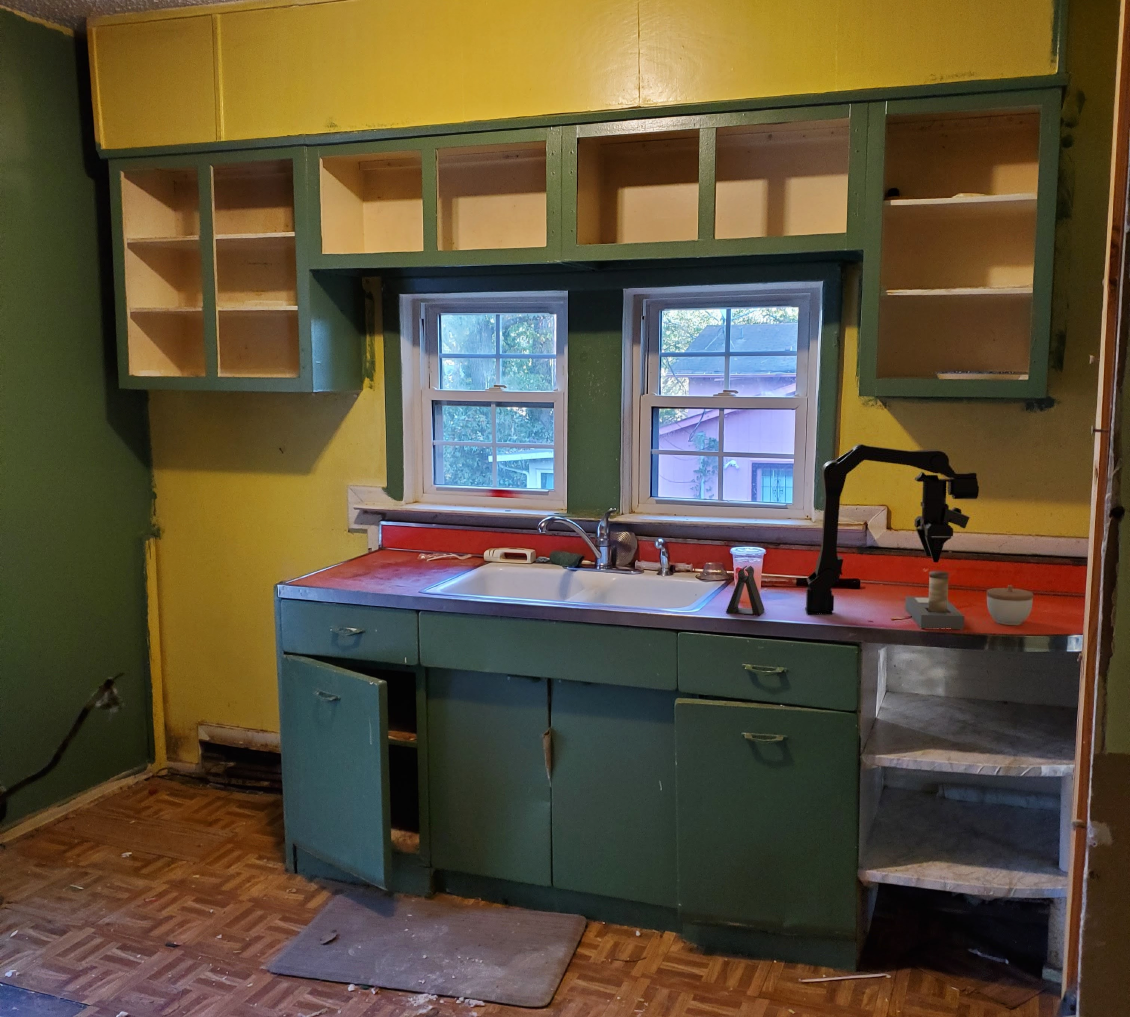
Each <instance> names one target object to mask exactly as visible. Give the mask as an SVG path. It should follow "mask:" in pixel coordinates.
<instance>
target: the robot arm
mask: <svg viewBox="0 0 1130 1017" xmlns="http://www.w3.org/2000/svg"><path fill="white" fill-rule="evenodd" d="M864 461H870V462H878V463H879V462H880V463H885V464H886V463H887V464H895V465H902V466H909V467H913V468H916V469H920V470H922V471H920V473H919V474H918V475H917V476H916V477H914V481H916V482H918V483H919V482H920V483H922V495H921V496H922V497H921V498H922V500H921V501H920V507H921V515H918V516H917V517H915V519H914V526H913V527H915V531H916V533H917V535H918V538H919V541H920V543H921V545H922V549H923V550H924V553H925V556H926V557H931V559H932V562H933V563H936V564H937V563H939V561H940V558H941V555H942V552H943V549H944V545H945V543H946V542H948V541H949V540H951V539H952V537H954V528H953V527H952V526H951V525H950V524H953V525H955V526H959V528H962V529H966V527H967V525H968V523H969V520H970V516H968V515H966V514H964V513H962V509H960V507H959V508H958V507H956V506H954V507H953V508H952V509H950V508H949V507H950V506H949V505H948V503H947V494H948V496H951V498H952V499H953V500H977V499H978V498H979V493H980V486H979V483H978V482H979V481H978V476H977V474H978V473H977V472H973V471H972V472H971V471H970V472H955V469H953V467H951V466H950V459H949V456H948V455H947V453H945V452H944V451H941V450H938V449H934V448H933V449H932V448H931V449H917V450H904V449H897V448H888V447H881V446H874V445H872V446H871V445H865V444H864V443H863V444H862V443H858V444H856V445H854V446H853V448H851V449H850V450H848V451H847V452H846V453H844V454H843V455H841V456H839V457H837V459H835V460H828V461H826V462H825V463H824V464H823V465H822V467H821V480H822V487H823V492H824V493H823V494H824V503H823V517H822V531H821V532H822V534H821V547H820V550H819V554H818V556H817V559H816V564H815V567H814V568H815V569H814V571H813V572H812V573H811V574H809V576H808V577H807V578H806V582H807V584H808V587H806V589H805V607H804V611H805V613H806V614H807V615H830V616H831V615H833V612H834V610H835V609H834V607H835V603H834V602H835V596H834V594H833V593H832V592H833V590H832V588H833V586H834V585H835V584H836V583H837V582H839V580H840V577H841V576H843V569H842V567H843V562H844V559H843V557H842V555H838V551H837V548H838V546H837V545H838V534H839V531H838V530H839V518H840V517H839V516H840V502H841V496H842V493H843V490H844V487H845V482H846V479H847V476H848V474H849V473H850V472H852V471H853V470H854V469H855V468H856V467H858V465H860V464H861V463H863V462H864ZM924 471H926V472H930V473H933V474H925V472H924ZM937 474H940V475H942V476H944V477H946V478H939V476H938V475H937Z"/></svg>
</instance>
